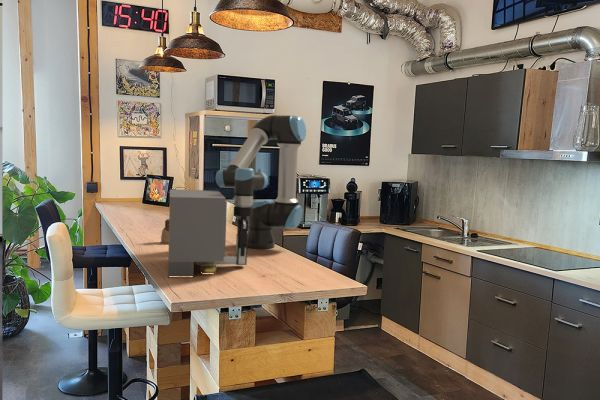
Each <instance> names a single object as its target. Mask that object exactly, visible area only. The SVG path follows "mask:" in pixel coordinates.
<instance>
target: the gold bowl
mask: <svg viewBox="0 0 600 400" xmlns="http://www.w3.org/2000/svg"><path fill="white" fill-rule="evenodd" d="M201 272H202V273H215V272H216V273H217V264H203V265H200V273H201Z"/></svg>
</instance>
